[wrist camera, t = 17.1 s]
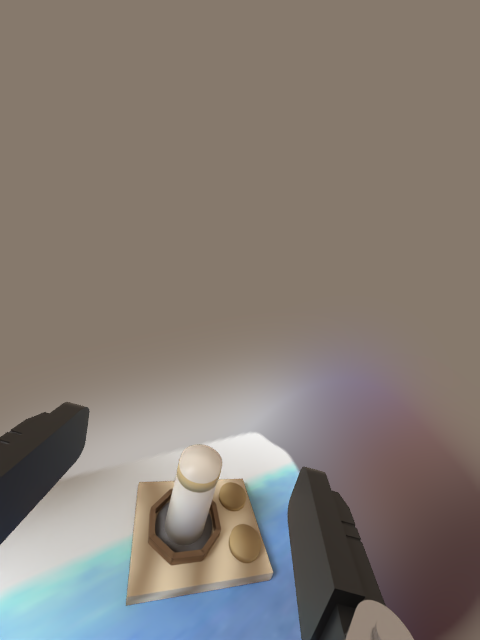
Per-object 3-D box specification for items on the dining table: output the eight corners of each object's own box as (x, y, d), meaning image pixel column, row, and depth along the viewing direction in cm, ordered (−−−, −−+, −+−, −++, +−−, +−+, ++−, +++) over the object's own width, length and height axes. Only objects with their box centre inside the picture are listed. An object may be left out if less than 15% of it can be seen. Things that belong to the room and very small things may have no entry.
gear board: (125, 605, 26) (129, 589, 25) (137, 488, 38) (140, 476, 37) (270, 580, 31) (275, 566, 30) (240, 484, 43) (244, 473, 42)
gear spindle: (164, 548, 30) (181, 479, 28) (163, 506, 35) (178, 444, 32) (207, 543, 32) (226, 477, 29) (201, 503, 36) (217, 444, 34)
